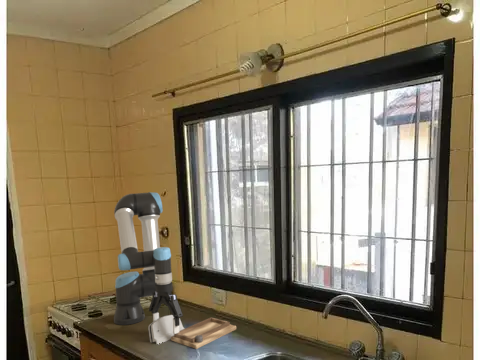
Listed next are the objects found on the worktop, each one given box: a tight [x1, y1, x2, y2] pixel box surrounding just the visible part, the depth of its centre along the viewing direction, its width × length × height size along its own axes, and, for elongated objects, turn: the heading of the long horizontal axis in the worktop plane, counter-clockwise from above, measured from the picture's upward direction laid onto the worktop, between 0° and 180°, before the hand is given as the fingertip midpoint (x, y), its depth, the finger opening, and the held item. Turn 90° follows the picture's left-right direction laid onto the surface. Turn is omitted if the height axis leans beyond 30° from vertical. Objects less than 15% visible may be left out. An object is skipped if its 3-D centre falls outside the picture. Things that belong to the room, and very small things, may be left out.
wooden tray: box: [170, 316, 237, 350], centre depth 181 cm, size 16×25×4 cm, turn 140°
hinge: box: [147, 314, 186, 345], centre depth 181 cm, size 17×5×10 cm, turn 138°
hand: (166, 330), depth 180 cm, fingers open, 13 cm apart
